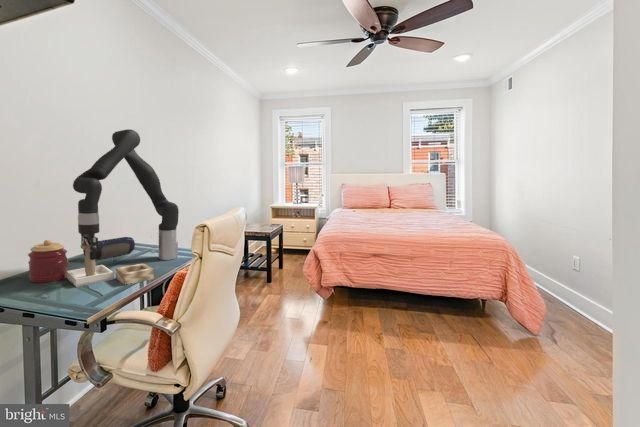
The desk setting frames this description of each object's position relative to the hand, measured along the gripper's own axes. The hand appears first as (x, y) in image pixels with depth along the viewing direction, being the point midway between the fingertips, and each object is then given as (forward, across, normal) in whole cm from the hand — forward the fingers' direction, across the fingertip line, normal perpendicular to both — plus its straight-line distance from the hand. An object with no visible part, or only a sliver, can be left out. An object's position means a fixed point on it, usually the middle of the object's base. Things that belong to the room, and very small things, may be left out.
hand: (90, 257), depth 136 cm
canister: (+10, +12, +12) cm, 20 cm away
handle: (+9, 0, 0) cm, 9 cm away
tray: (+10, 0, 0) cm, 10 cm away
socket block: (+10, -12, -14) cm, 21 cm away
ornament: (+10, +25, +6) cm, 28 cm away
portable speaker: (+11, +32, -19) cm, 38 cm away
